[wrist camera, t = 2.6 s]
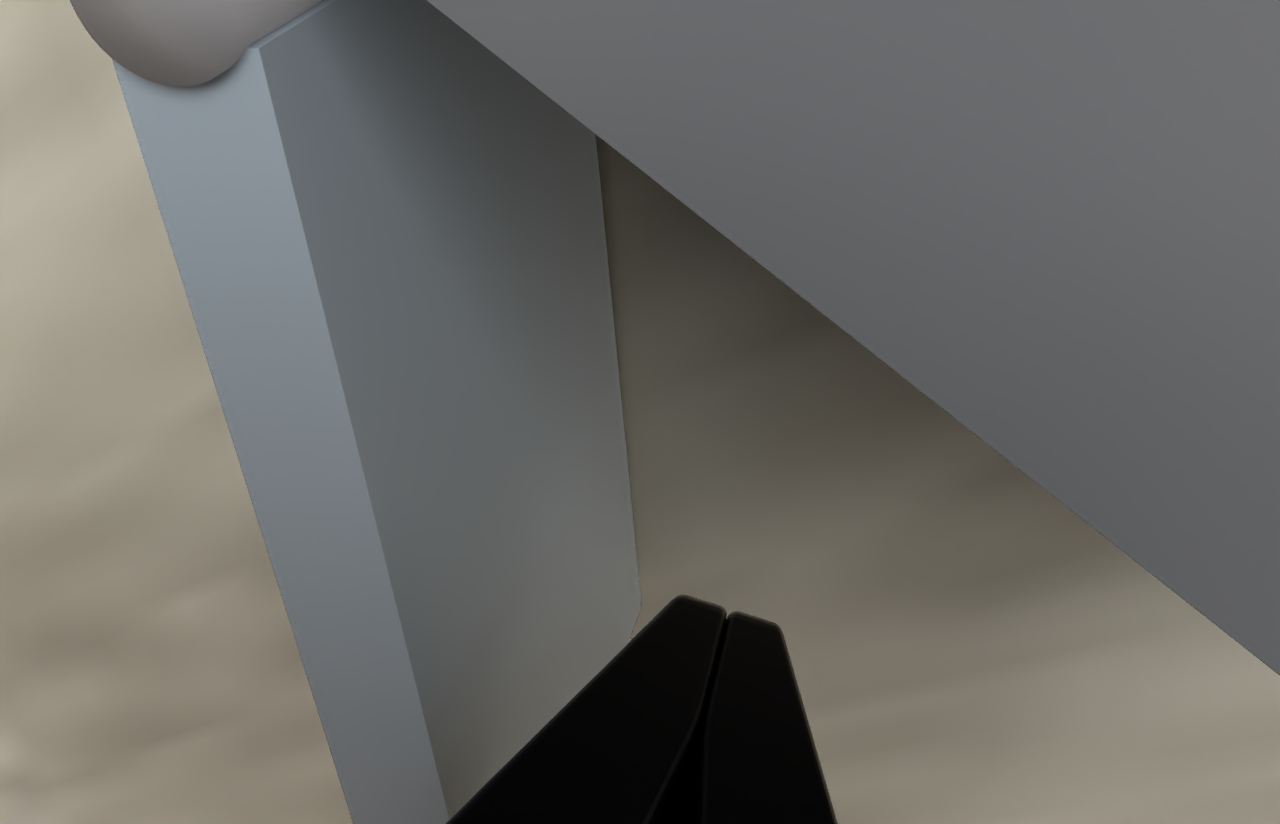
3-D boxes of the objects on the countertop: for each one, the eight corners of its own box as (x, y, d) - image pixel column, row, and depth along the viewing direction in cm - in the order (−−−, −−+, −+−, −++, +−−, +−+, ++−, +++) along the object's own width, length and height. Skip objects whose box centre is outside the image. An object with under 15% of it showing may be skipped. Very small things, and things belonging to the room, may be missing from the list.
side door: (566, -256, 9) (213, -125, 5) (647, 599, 14) (500, 1028, 10) (457, -248, 9) (31, -117, 5) (573, 591, 14) (398, 1007, 10)
